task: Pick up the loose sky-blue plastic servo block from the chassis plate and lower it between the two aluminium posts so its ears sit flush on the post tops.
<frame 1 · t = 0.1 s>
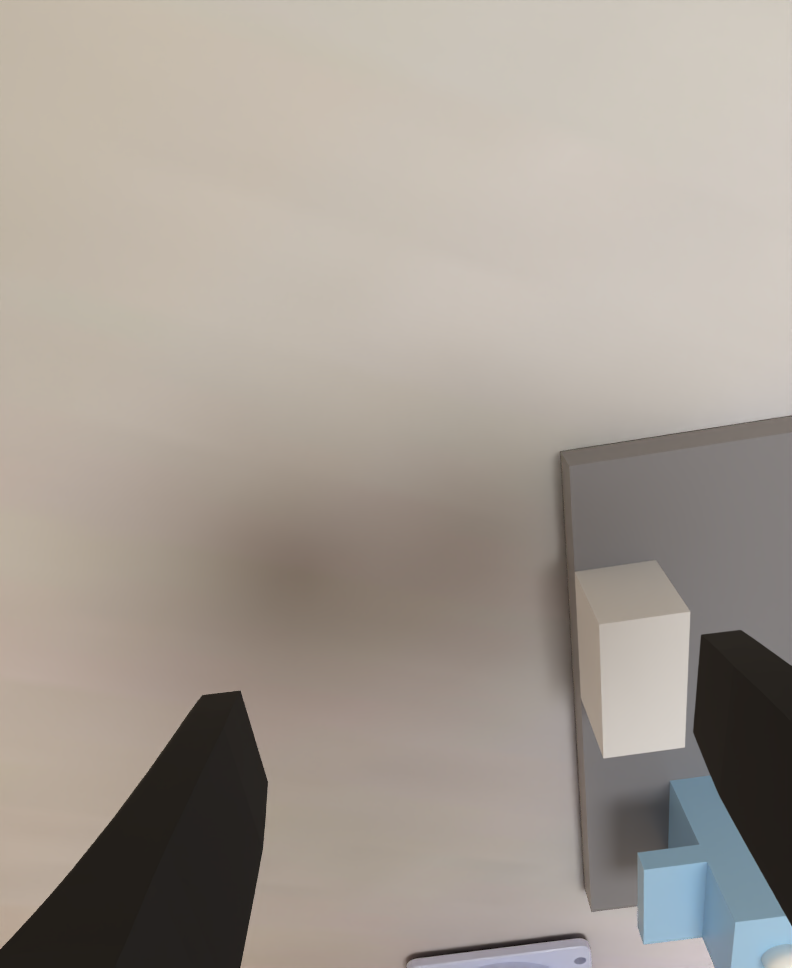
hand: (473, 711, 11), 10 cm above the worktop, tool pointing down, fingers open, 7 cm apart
chassis plate: (747, 685, 24), on the worktop
servo block: (751, 807, 26), point 1 cm above the worktop, touching chassis plate
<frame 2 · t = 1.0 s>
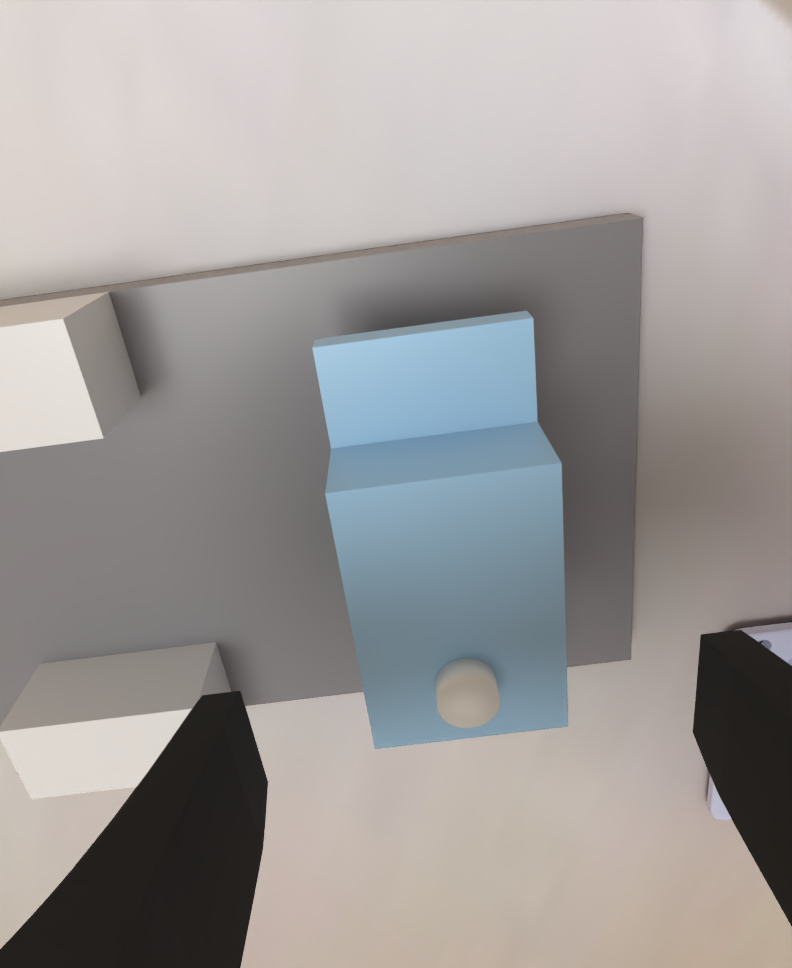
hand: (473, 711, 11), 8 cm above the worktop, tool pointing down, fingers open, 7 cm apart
chassis plate: (246, 504, 19), on the worktop
servo block: (436, 497, 18), point 1 cm above the worktop, touching chassis plate
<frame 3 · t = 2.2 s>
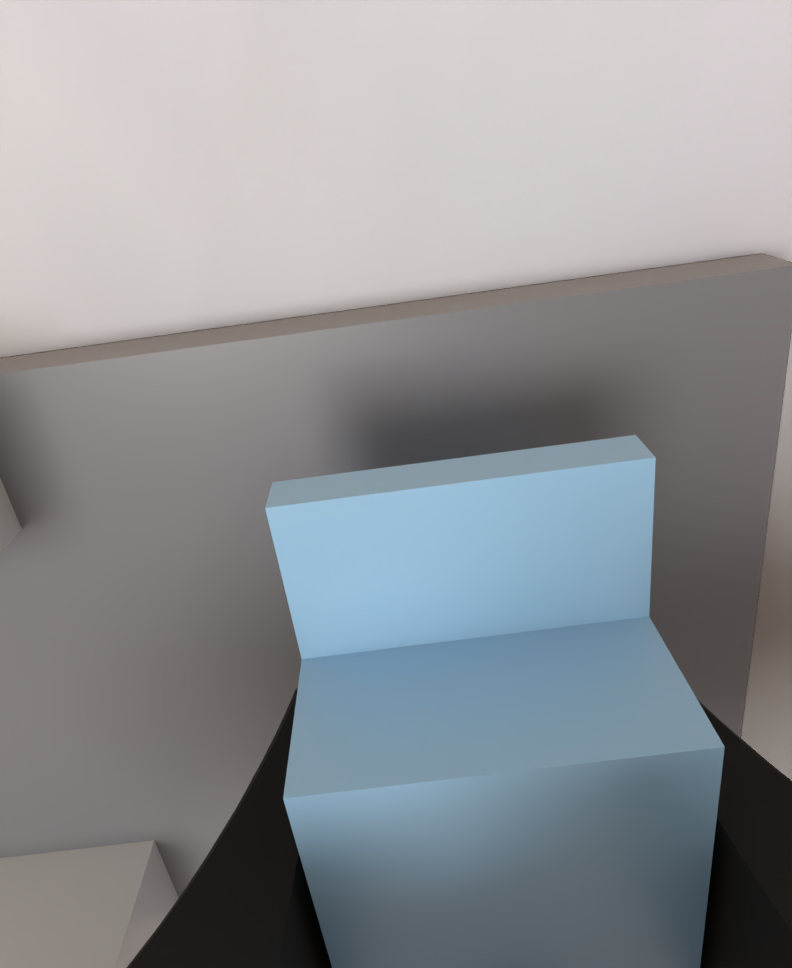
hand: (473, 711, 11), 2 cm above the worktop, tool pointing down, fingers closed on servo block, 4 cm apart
chassis plate: (193, 656, 13), on the worktop
servo block: (464, 660, 12), point 1 cm above the worktop, touching chassis plate, gripper
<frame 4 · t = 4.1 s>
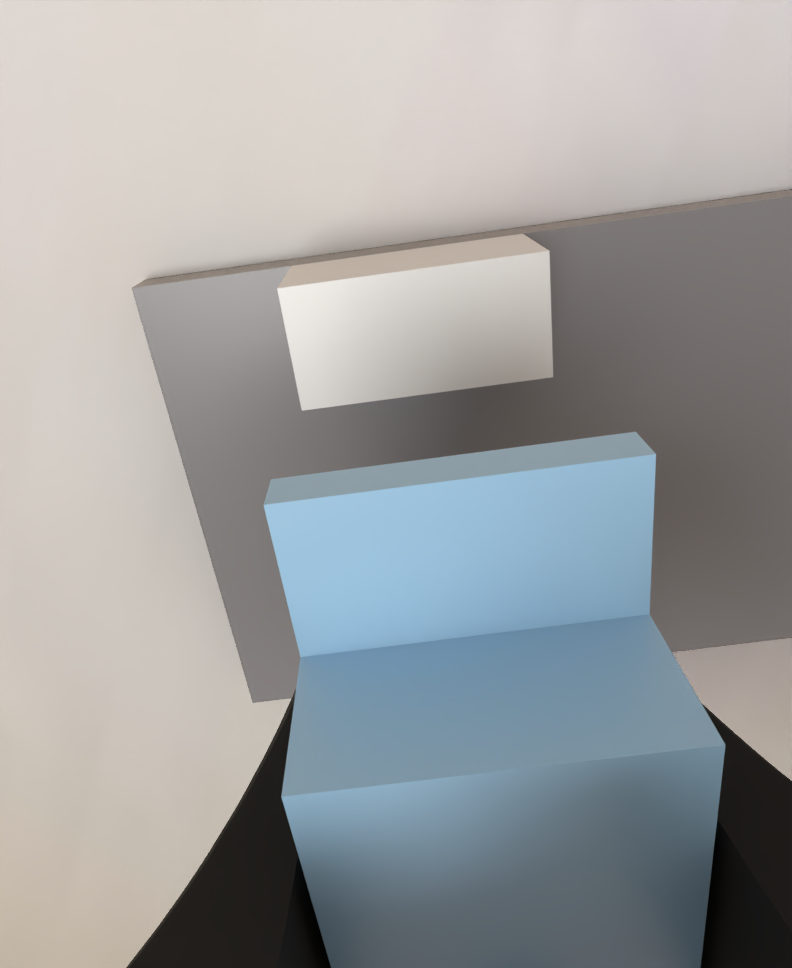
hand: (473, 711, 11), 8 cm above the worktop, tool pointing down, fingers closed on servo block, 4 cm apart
chassis plate: (583, 459, 18), on the worktop
servo block: (463, 658, 12), point 7 cm above the worktop, touching gripper
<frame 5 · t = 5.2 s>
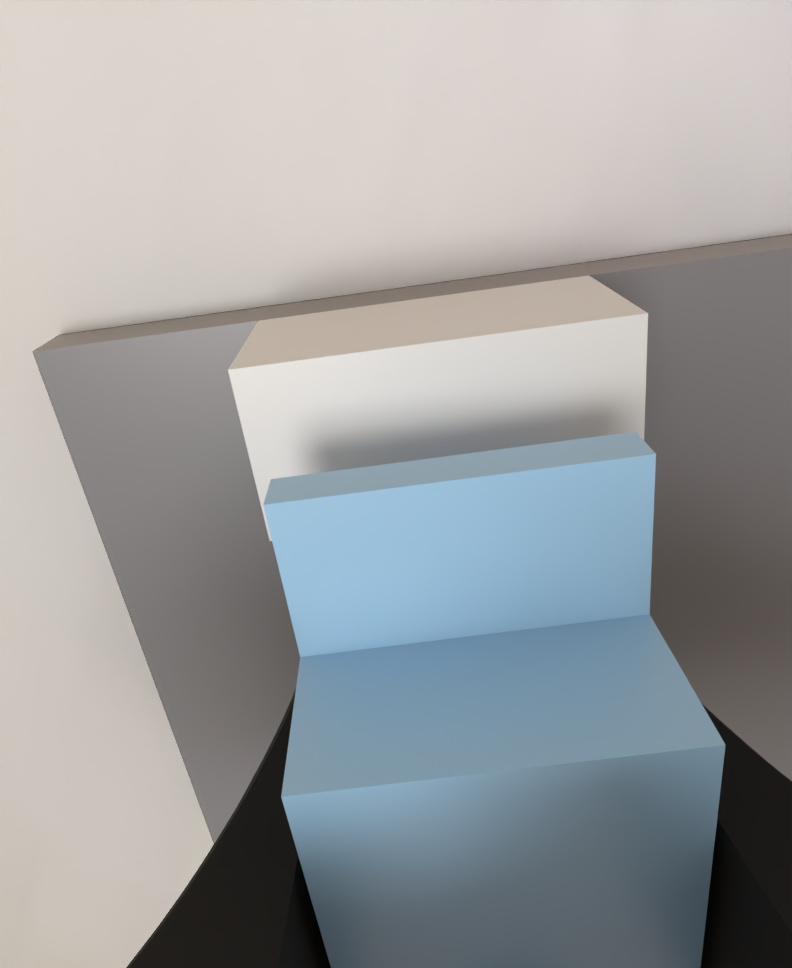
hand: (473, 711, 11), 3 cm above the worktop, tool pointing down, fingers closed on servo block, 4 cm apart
chassis plate: (652, 563, 14), on the worktop
servo block: (463, 658, 12), point 2 cm above the worktop, touching gripper
when the fingers open (3 cm above the worktop, at t = 6.1 s): servo block stays where it is, resting on chassis plate.
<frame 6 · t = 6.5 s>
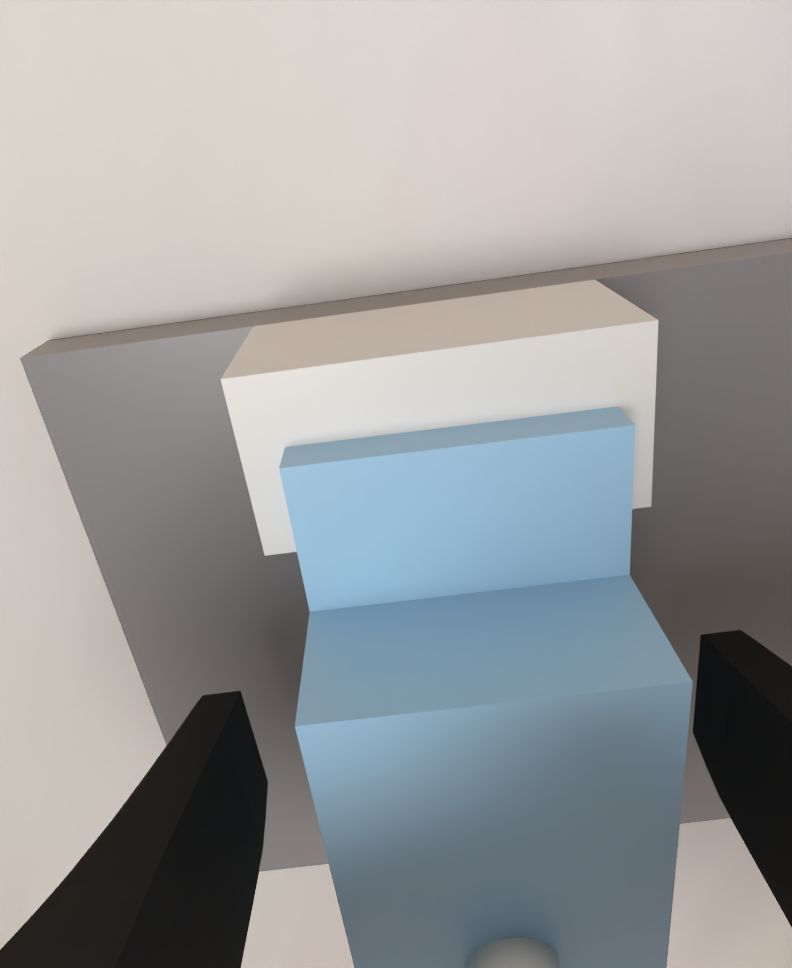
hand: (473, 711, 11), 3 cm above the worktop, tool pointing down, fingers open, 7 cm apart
chassis plate: (657, 573, 14), on the worktop
servo block: (459, 628, 13), point 1 cm above the worktop, touching chassis plate
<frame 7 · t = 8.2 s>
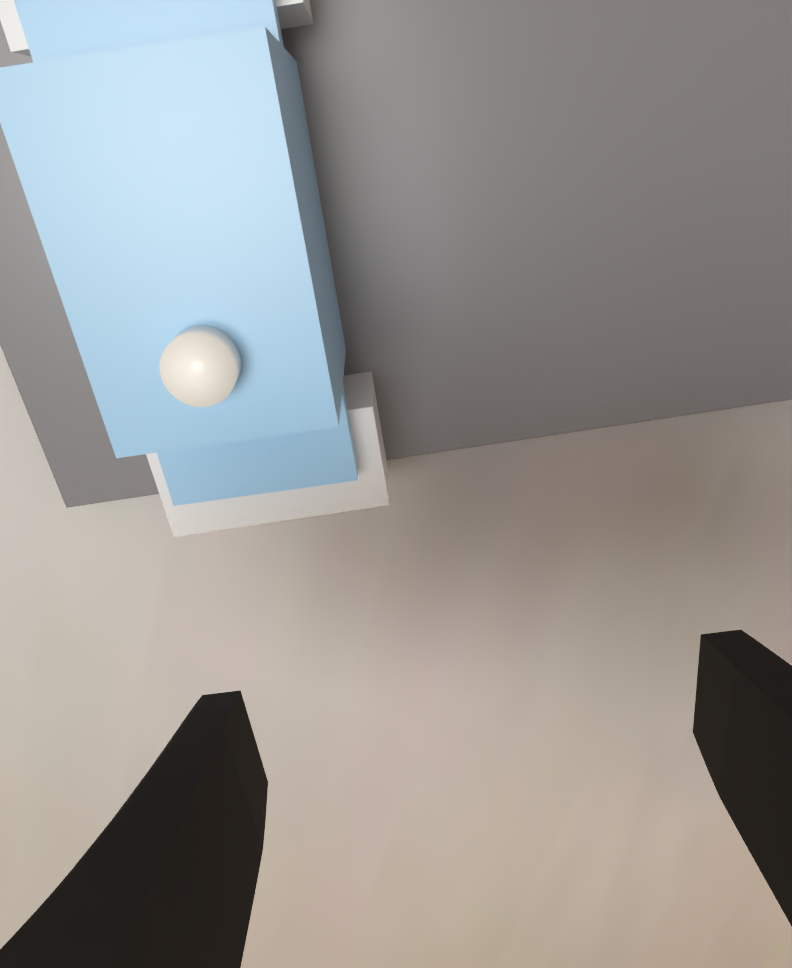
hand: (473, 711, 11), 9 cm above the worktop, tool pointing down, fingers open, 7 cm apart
chassis plate: (410, 201, 16), on the worktop
servo block: (234, 231, 16), point 1 cm above the worktop, touching chassis plate
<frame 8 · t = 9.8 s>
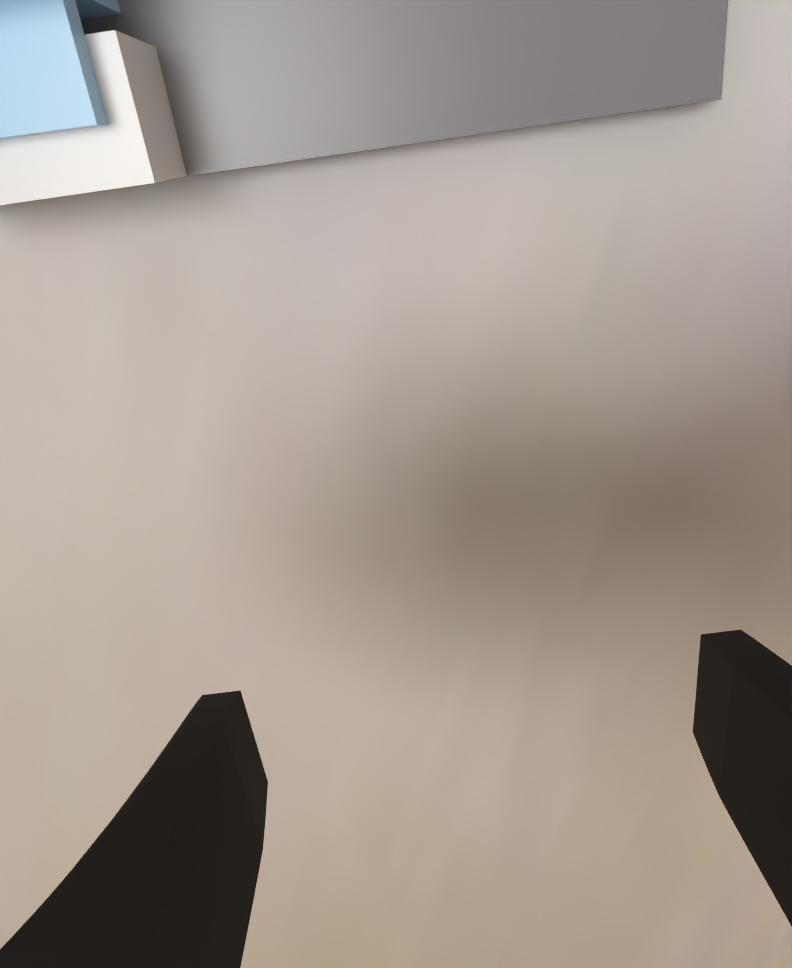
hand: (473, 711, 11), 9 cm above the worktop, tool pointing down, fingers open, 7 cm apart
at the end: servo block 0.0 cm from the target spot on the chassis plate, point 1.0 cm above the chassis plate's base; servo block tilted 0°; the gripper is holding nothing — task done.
